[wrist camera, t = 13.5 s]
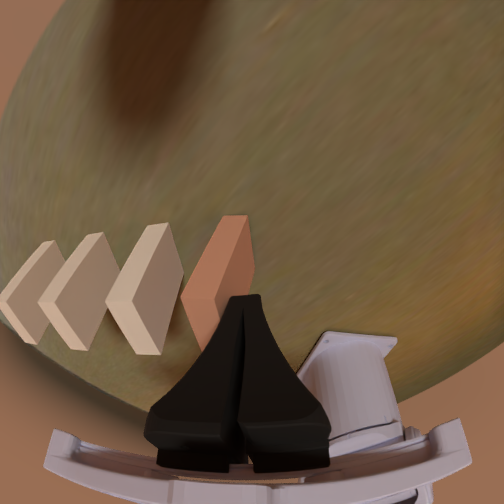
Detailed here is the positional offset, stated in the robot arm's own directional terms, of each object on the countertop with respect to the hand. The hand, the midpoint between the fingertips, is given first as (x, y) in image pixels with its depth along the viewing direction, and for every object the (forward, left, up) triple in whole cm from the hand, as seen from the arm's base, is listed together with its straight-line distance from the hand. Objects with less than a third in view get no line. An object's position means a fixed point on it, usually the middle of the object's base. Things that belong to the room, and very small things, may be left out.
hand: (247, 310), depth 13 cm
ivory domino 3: (-2, +5, -6) cm, 8 cm away
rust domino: (0, +1, -6) cm, 6 cm away
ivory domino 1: (-5, +15, -6) cm, 17 cm away
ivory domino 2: (-4, +10, -6) cm, 12 cm away
